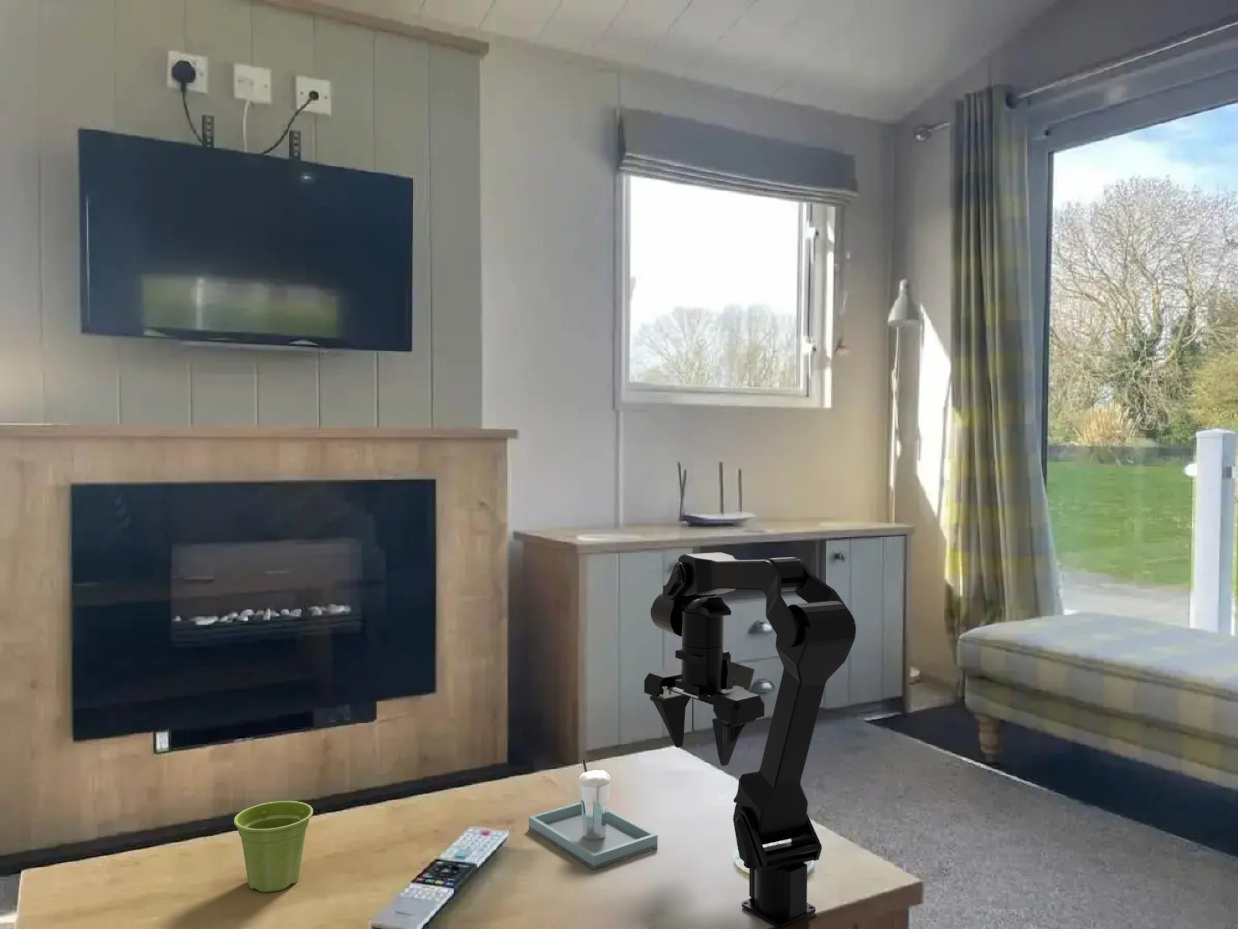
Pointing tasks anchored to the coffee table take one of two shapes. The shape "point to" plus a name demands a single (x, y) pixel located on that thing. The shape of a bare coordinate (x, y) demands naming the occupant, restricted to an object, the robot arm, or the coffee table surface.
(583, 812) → the milkshake
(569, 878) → the coffee table surface
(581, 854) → the tray
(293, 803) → the plant pot
